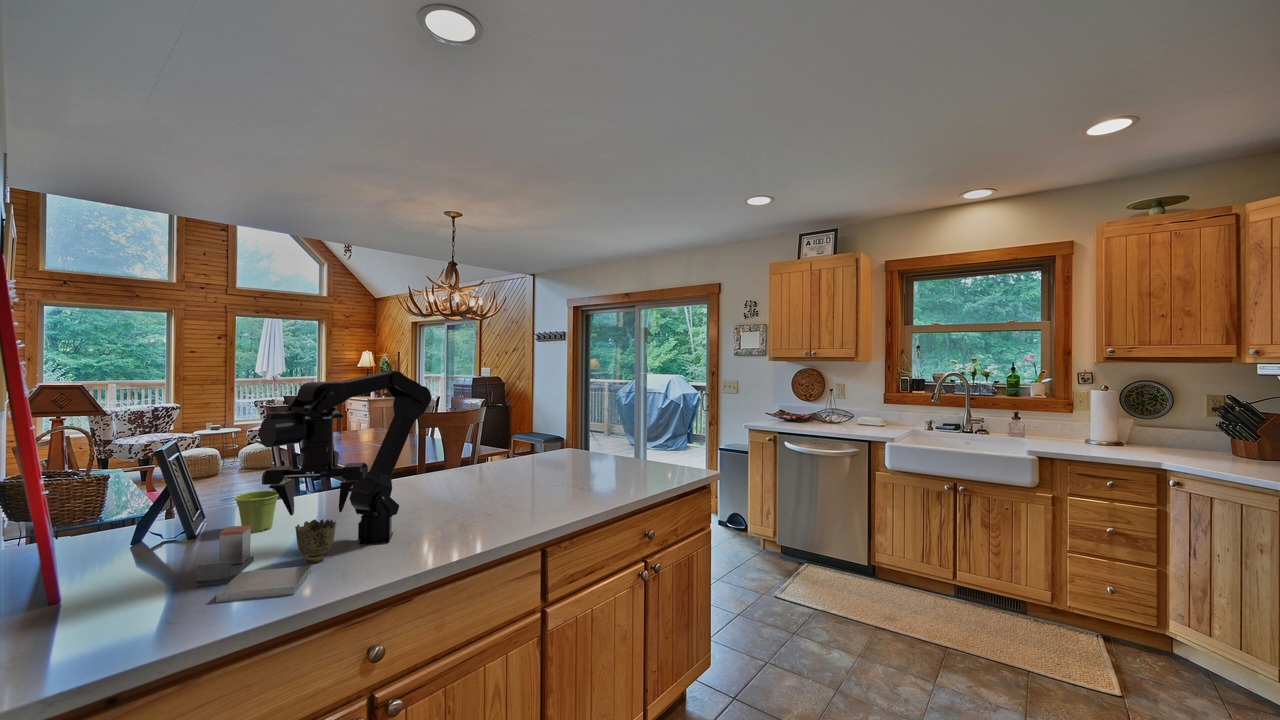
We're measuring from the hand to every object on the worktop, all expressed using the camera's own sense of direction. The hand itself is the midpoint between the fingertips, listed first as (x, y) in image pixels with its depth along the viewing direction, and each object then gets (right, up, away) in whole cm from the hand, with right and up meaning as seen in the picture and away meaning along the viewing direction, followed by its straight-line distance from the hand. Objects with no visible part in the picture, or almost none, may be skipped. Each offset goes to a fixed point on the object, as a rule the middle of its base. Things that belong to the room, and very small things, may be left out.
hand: (316, 513), depth 113 cm
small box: (-15, -9, -4) cm, 18 cm away
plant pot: (-27, -10, +20) cm, 35 cm away
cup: (0, -10, 0) cm, 10 cm away
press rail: (-14, -10, -7) cm, 18 cm away
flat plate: (-1, -10, -13) cm, 17 cm away
